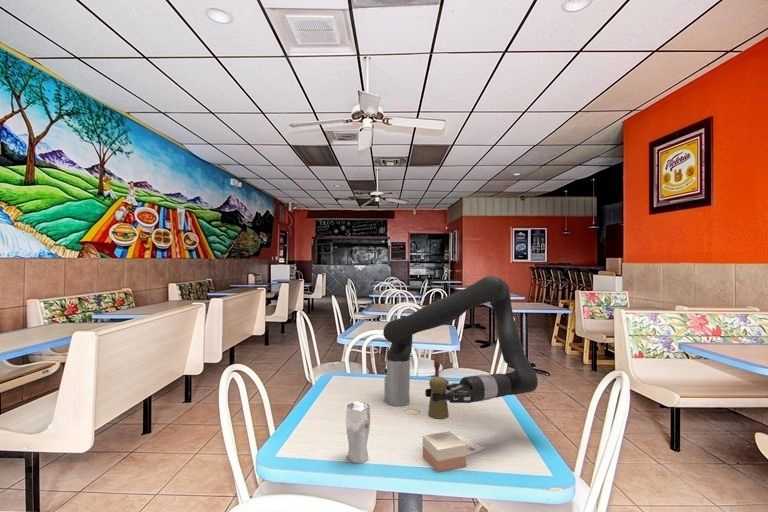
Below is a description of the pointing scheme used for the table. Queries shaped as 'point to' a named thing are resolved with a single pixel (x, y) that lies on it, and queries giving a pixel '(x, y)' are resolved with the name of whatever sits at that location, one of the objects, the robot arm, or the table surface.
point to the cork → (439, 407)
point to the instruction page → (470, 446)
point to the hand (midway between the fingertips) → (429, 395)
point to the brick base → (444, 463)
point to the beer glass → (357, 431)
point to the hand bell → (437, 366)
